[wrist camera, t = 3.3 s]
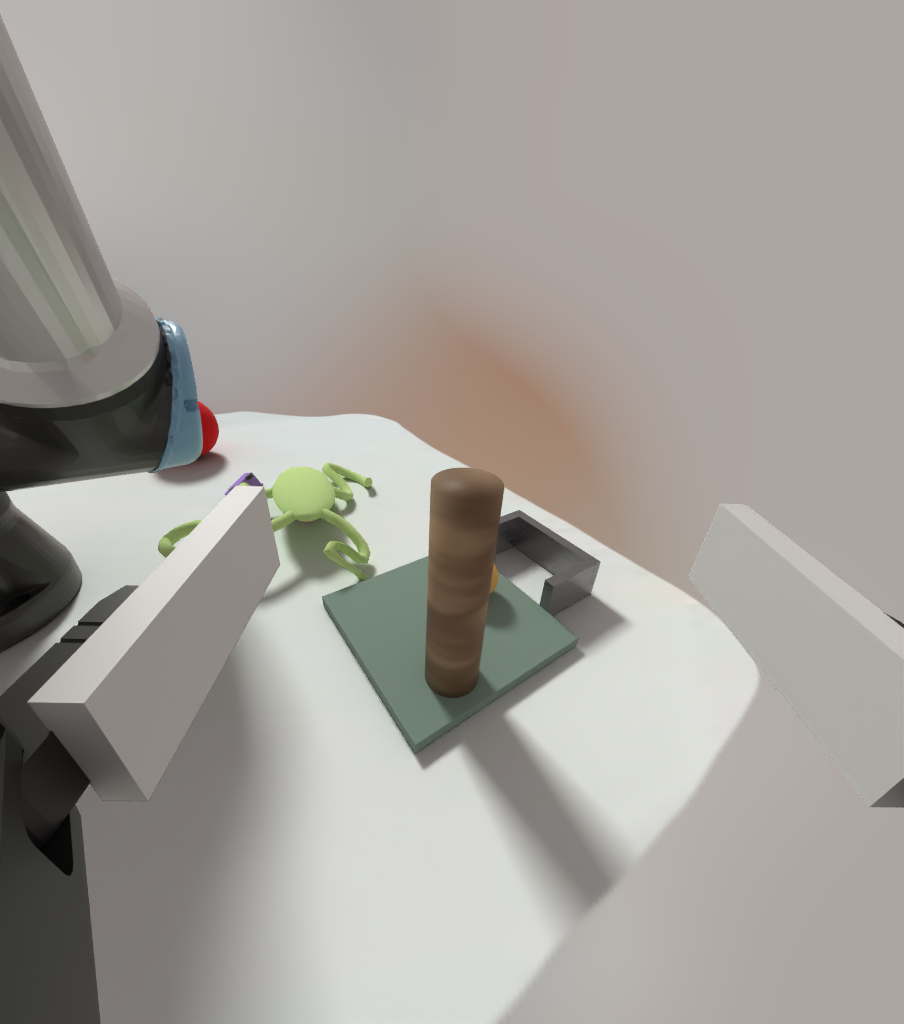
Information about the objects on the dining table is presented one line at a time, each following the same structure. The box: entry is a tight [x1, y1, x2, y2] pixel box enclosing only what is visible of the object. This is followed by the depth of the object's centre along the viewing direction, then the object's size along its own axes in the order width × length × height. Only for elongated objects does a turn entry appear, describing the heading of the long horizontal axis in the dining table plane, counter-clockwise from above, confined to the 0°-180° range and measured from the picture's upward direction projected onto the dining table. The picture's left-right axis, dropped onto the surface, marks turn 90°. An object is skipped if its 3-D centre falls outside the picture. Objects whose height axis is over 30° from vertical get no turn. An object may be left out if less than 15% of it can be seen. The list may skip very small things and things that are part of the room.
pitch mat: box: [322, 556, 578, 753], centre depth 36 cm, size 16×16×1 cm
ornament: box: [197, 401, 219, 457], centre depth 60 cm, size 9×9×10 cm
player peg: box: [425, 468, 504, 698], centre depth 26 cm, size 4×4×16 cm
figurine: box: [158, 463, 372, 580], centre depth 46 cm, size 18×27×6 cm
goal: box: [495, 510, 600, 616], centre depth 42 cm, size 6×11×4 cm, turn 36°
